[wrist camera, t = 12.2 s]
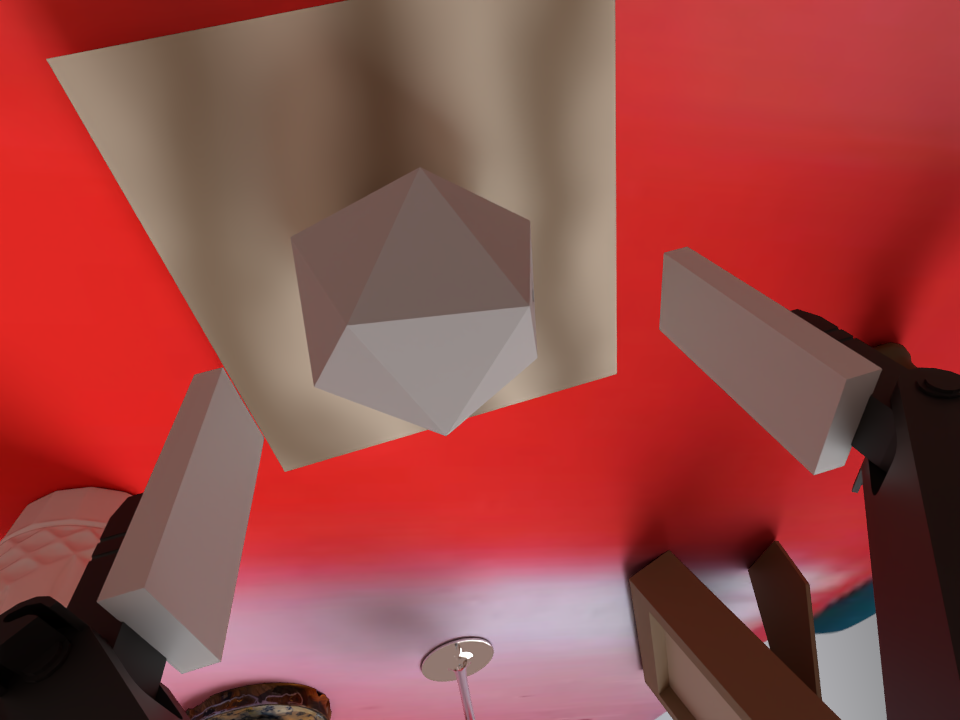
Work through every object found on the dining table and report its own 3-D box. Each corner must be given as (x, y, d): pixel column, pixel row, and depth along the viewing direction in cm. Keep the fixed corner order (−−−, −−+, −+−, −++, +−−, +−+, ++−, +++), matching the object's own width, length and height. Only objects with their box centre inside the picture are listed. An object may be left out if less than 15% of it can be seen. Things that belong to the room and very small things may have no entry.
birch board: (589, -44, 18) (614, -52, 16) (600, 354, 28) (616, 373, 27) (75, 57, 16) (46, 58, 14) (287, 445, 26) (284, 471, 25)
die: (439, 371, 25) (611, 402, 18) (267, 421, 19) (426, 497, 12) (422, 199, 23) (607, 162, 16) (226, 197, 17) (386, 136, 10)
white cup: (159, 467, 25) (77, 670, 17) (196, 563, 29) (144, 763, 21) (-28, 488, 23) (-220, 728, 15) (40, 587, 28) (-82, 817, 19)
